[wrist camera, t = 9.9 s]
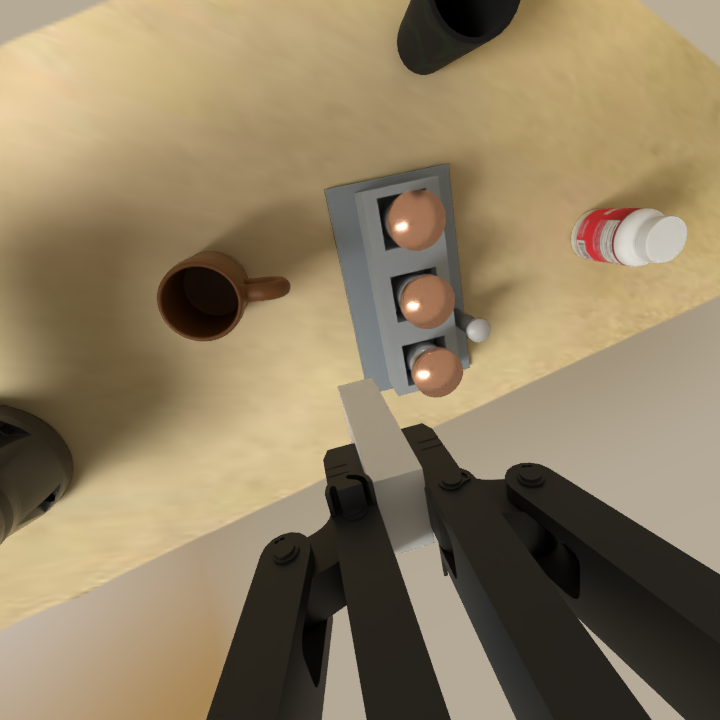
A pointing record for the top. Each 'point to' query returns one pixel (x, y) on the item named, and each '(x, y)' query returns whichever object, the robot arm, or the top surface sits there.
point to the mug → (211, 295)
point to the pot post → (472, 326)
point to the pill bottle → (628, 236)
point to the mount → (392, 273)
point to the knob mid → (423, 299)
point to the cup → (449, 30)
